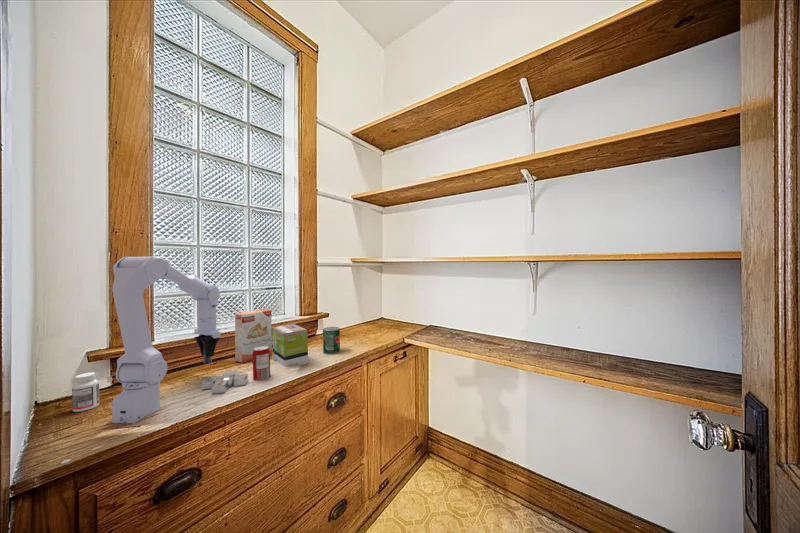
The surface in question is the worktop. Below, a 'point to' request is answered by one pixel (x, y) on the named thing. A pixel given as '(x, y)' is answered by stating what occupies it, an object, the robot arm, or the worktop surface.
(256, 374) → the soda can
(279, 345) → the tea box
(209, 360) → the black pin
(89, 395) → the pill bottle
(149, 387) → the robot arm
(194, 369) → the worktop surface
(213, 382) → the tabbed chrome dome
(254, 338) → the cracker box
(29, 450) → the worktop surface
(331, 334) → the canned tomato
